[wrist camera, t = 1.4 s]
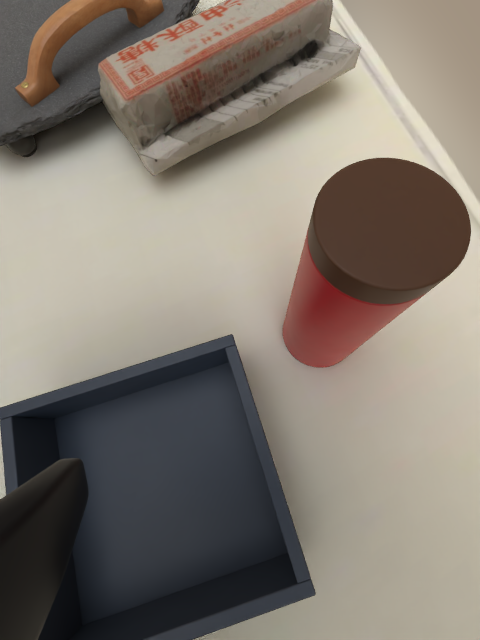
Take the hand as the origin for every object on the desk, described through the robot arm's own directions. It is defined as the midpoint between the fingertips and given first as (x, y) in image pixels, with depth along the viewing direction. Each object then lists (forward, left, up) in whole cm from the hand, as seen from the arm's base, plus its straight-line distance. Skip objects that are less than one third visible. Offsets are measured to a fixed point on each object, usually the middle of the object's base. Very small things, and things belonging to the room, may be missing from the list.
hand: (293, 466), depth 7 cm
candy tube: (+5, -5, -13) cm, 15 cm away
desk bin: (0, +6, -13) cm, 15 cm away
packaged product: (+26, -5, -12) cm, 29 cm away
